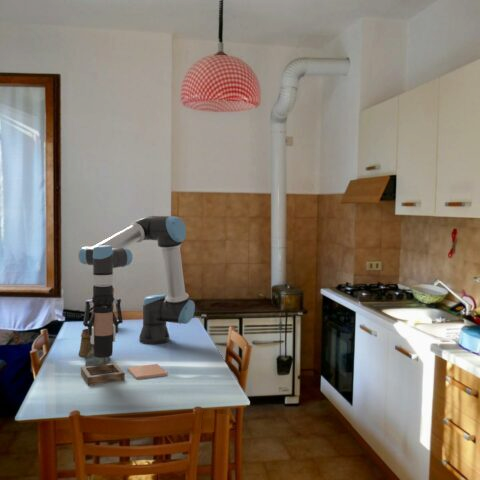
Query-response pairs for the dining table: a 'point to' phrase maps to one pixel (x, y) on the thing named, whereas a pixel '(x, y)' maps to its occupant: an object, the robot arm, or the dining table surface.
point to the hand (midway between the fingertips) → (103, 342)
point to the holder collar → (104, 378)
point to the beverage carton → (95, 359)
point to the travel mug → (103, 331)
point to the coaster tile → (147, 371)
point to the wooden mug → (85, 343)
